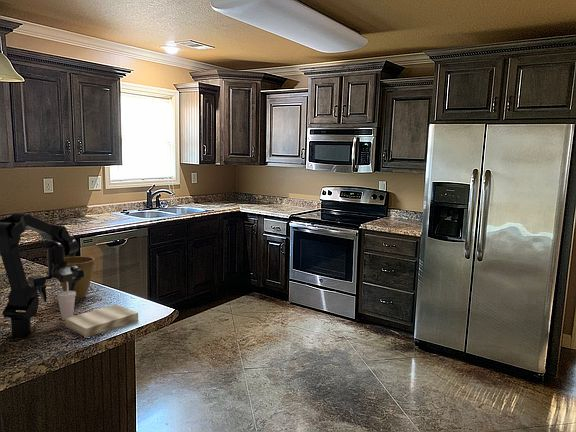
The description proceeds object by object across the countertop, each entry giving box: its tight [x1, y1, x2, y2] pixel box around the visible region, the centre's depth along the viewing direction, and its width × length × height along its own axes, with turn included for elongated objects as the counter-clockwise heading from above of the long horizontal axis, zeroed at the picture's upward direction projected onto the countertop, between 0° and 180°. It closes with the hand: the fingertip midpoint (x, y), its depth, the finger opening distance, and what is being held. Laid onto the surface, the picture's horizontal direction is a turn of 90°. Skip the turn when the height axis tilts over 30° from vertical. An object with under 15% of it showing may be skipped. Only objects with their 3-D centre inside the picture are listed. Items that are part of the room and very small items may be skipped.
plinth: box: [64, 303, 139, 338], centre depth 160 cm, size 20×14×3 cm
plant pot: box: [59, 255, 95, 300], centre depth 188 cm, size 15×15×16 cm
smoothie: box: [56, 282, 76, 321], centre depth 163 cm, size 6×6×14 cm
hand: (57, 299), depth 167 cm, fingers open, 9 cm apart
